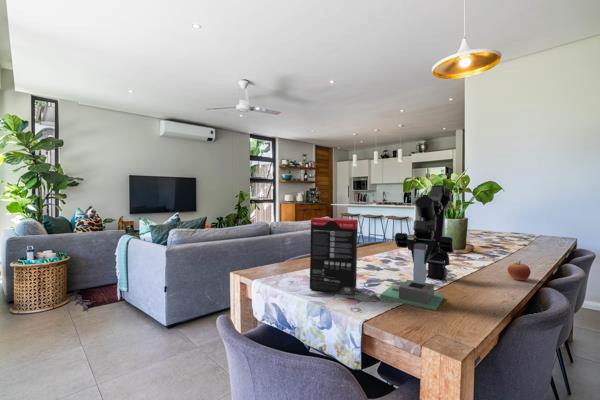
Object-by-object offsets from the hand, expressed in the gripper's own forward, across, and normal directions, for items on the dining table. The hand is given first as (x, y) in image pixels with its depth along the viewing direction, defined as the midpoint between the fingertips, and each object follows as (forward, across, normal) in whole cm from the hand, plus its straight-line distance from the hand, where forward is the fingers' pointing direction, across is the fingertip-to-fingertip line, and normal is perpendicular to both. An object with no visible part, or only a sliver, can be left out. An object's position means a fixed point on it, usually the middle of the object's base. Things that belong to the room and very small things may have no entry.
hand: (419, 262), depth 97 cm
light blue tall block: (+4, 0, +6) cm, 7 cm away
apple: (-27, +29, +47) cm, 62 cm away
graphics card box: (+14, -29, +5) cm, 33 cm away
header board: (+8, -3, +12) cm, 14 cm away
